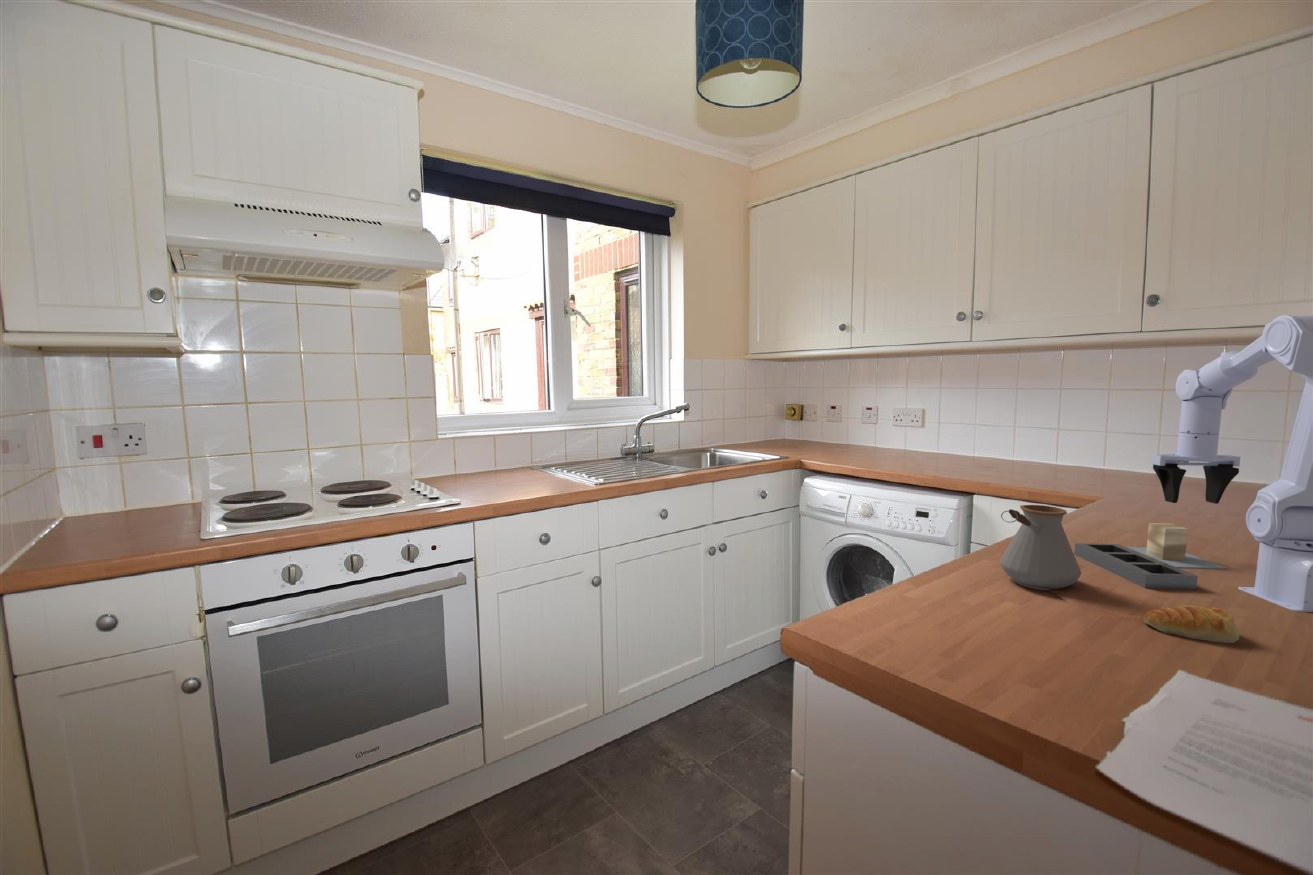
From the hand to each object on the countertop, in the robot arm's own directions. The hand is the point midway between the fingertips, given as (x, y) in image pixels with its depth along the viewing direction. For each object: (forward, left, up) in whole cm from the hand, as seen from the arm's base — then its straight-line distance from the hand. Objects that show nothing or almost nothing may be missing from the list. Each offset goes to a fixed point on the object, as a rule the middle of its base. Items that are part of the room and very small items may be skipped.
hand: (1191, 502), depth 114 cm
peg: (-4, +7, -10) cm, 13 cm away
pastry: (-37, +28, -11) cm, 48 cm away
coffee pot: (-22, +42, -11) cm, 49 cm away
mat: (-4, +7, -10) cm, 13 cm away
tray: (-12, +19, -10) cm, 25 cm away
